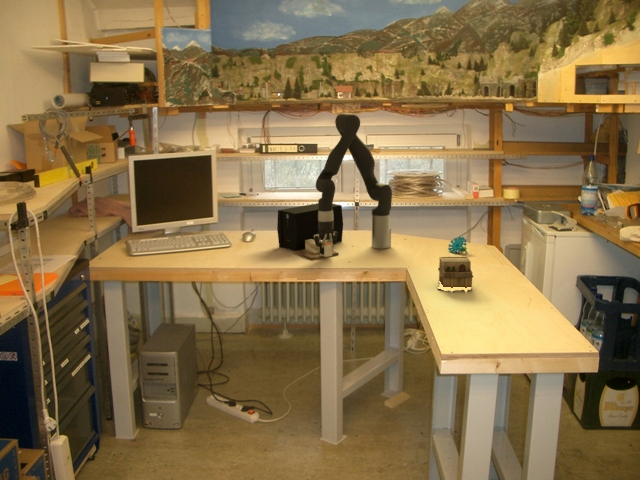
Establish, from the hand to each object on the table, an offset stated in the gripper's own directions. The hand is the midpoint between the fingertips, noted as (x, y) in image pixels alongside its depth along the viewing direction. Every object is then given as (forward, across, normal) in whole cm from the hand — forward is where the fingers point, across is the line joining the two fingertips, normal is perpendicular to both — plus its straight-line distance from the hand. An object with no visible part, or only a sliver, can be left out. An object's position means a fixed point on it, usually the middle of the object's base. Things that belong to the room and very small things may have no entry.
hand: (326, 253), depth 298 cm
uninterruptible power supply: (+3, -10, -28) cm, 30 cm away
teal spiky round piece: (+2, -59, +31) cm, 66 cm away
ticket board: (+2, 0, -9) cm, 9 cm away
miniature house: (+2, -17, +69) cm, 71 cm away
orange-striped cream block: (+1, 0, 0) cm, 1 cm away
